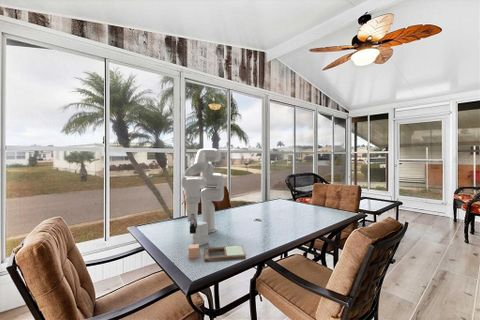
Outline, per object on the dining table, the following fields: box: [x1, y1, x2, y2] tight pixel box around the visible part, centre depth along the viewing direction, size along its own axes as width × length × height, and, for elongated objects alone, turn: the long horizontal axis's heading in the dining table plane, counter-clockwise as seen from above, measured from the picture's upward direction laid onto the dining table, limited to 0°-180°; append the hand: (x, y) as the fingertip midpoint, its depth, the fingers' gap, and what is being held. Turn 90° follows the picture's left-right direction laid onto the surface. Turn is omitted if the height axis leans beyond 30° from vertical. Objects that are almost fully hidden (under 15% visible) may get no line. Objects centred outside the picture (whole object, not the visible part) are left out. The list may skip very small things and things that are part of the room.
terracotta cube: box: [188, 243, 200, 259], centre depth 124 cm, size 6×6×6 cm
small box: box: [192, 220, 209, 247], centre depth 142 cm, size 8×6×13 cm
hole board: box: [204, 245, 247, 263], centre depth 126 cm, size 14×22×2 cm, turn 98°
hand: (193, 230), depth 123 cm, fingers open, 9 cm apart
